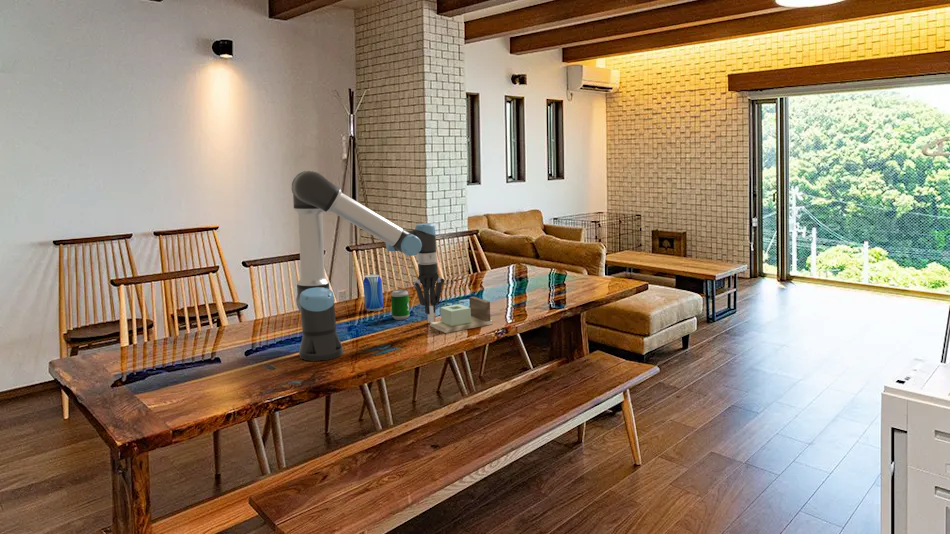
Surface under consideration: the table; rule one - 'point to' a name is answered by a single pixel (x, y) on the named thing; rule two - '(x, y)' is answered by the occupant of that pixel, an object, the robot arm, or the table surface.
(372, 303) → the beer can
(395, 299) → the soda can
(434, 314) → the dowel
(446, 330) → the beige l-shaped bracket
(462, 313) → the block
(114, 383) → the table surface
